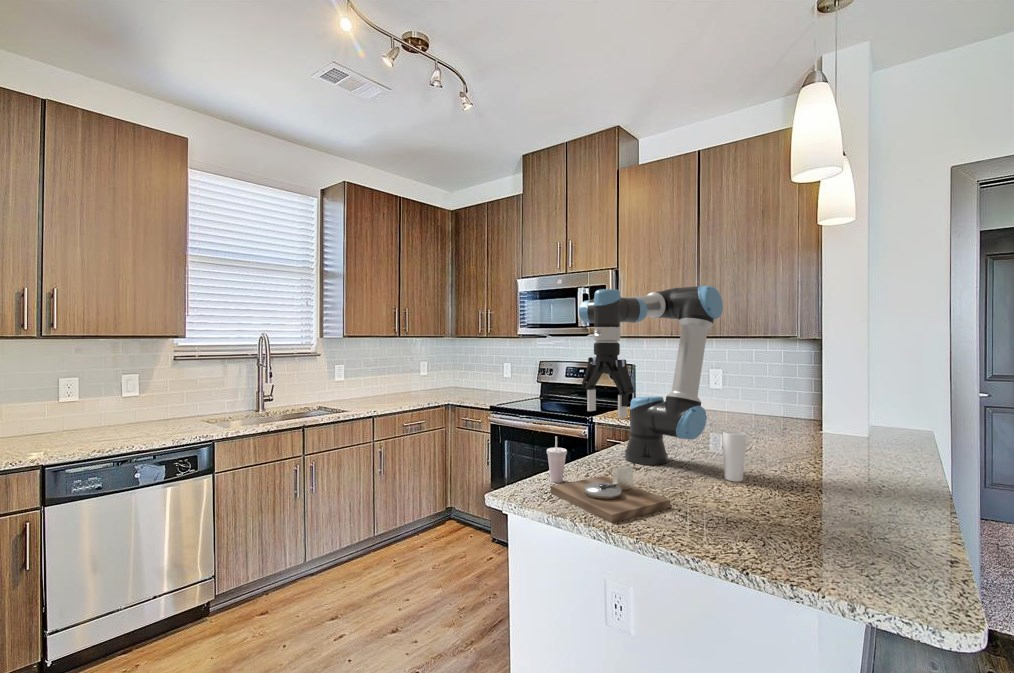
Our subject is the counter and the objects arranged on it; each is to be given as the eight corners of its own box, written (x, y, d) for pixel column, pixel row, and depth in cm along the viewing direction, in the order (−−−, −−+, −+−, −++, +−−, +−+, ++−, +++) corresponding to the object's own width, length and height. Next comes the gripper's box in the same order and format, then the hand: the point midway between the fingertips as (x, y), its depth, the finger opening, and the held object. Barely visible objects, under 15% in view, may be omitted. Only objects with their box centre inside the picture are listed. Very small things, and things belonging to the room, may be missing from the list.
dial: (617, 482, 142) (618, 462, 142) (643, 492, 133) (643, 470, 133) (576, 490, 134) (577, 469, 134) (601, 502, 125) (601, 479, 125)
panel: (605, 481, 149) (605, 475, 149) (670, 507, 128) (670, 499, 128) (550, 493, 138) (550, 485, 138) (611, 523, 117) (611, 514, 117)
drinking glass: (740, 477, 156) (741, 431, 156) (749, 483, 149) (749, 435, 149) (719, 476, 156) (719, 430, 156) (726, 482, 150) (727, 434, 150)
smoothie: (543, 481, 149) (543, 436, 149) (550, 476, 154) (551, 433, 154) (562, 485, 146) (562, 439, 146) (569, 479, 151) (570, 435, 151)
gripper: (570, 341, 150) (570, 409, 151) (627, 343, 129) (627, 422, 130) (589, 340, 154) (588, 407, 155) (647, 342, 133) (647, 419, 133)
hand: (606, 414), depth 142 cm, fingers open, 12 cm apart
